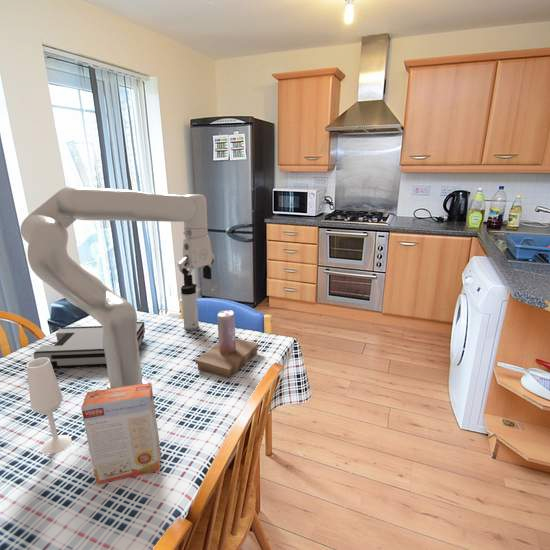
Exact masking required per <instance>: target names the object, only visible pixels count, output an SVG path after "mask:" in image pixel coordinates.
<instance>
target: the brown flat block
mask: <svg viewBox="0 0 550 550" xmlns="http://www.w3.org/2000/svg"><path fill="white" fill-rule="evenodd" d="M235 341H236V350H235V352H234V353H233V354H231V355H223V354H221V353H220V351H219V342H217V343H216V344H215V345H213V346H212V347H210V348H209V349H208V350H207V351H204V352H203V354H201V355H199V356H198V357H197V358H196V359H194V360H195V365H197V370H198V371H202V372H205V373H209V374H211V375H214V376H218V377H222V378H225V379H228V380H230V379H231V378H232V377H234V375H236V373H238V371H240V370H241V369H242V368H243V367H244V366H246V364H247V363H248V362H250V361H251V359H252V358H254V357H255V356H256V355H257V354H258V348H260V347H259V345H260V344H259V343H258V342H254V341H249V340H246V339H241V338H238V337H235Z"/></svg>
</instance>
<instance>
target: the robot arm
mask: <svg viewBox="0 0 550 550" xmlns="http://www.w3.org/2000/svg"><path fill="white" fill-rule="evenodd" d="M207 210H208V207H207V198H206V196H205V195H204V194H197V193H193V194H192V193H191V194H190V193H188V194H184V195H182V194H181V195H180V194H171V193H168V194H156V193H149V192H148V193H147V192H143V191H139V190H131V189H118V188H115V189H113V188H99V187H88V186H87V187H84V186H83V187H82V186H75V185H69V186H65V187H63V188H61V189H60V190H58V191H57V192H56V193H55V194H53V195H52V196H51V197H49V198H48V199H47V200H46V201H44V203H42V204H41V205H39V207H37V208H36V209H35V210H34V211H31V213H30V214H28V215H27V216H26V217H25V218H24V219H23V221H22V223H21V224H20V234H21V237H22V238H23V240H24V241H25V242H27V259H28V260H27V261H28V264H29V267H30V269H31V270H32V272H33V273H34V274H35V275H36V277H38V278H39V279H40V280H42V281H43V282H44V283H46V285H48V286H49V287H51V288H52V289H53V290H55V291H56V292H57V293H58V294H60V295H61V296H62V297H63V298H64V299H65V300H67V301H68V302H70V304H71V305H73V306H75V307H77V308H78V309H80V310H82V311H83V312H85V313H86V314H88V315H89V316H90V317H92V318H93V319H94V320H95V321H97V322H98V323H99V324H100V326H102V328H103V347H104V353H105V358H106V365H107V366H106V368H107V369H106V370H107V376H108V382H109V384H108V385H106V389H112V388H118V387H125V386H131V385H138V384H145V383H149V382H148V381H147V380H146V379H143V371H142V365H141V356H140V350H139V348H140V347H139V348H138V341H137V322H138V314H137V311H136V309H135V307H134V305H132V303H131V302H130V301H128V300H127V299H125V298H124V297H121V296H119V295H118V294H117V293H115V292H113V290H111V289H110V288H109V287H107V285H105V284H103V281H102V280H100V279H99V278H98V277H97V276H95V275H93V274H92V273H90V272H88V271H87V270H86V269H84V268H83V267H82V266H81V265H79V264H78V263H77V262H76V261H75V260H74V259H72V258H71V257H70V256H69V254H68V250H67V248H68V241H69V233H68V230H67V229H68V228H69V227H71V225H72V224H73V223H74V222H75V221H76V220H79V221H123V222H124V221H125V222H126V221H128V222H129V221H131V222H165V223H166V222H168V223H169V222H173V223H174V222H175V223H176V222H181V223H182V222H183V235H184V237H183V242H182V259H181V260H179V262H177V266H178V269H179V271H180V273H181V274H182V275H183V284H184V285H185V286H190V287H191V286H193V284H194V283H193V274H192V272H193V270H195V269H199V268H202V277H203V279H206V280H211V279H212V267H213V264H214V259H215V253H213V251H212V243H211V239H210V236H209V235H208V232H209V231H208V211H207ZM184 285H183V286H184Z"/></svg>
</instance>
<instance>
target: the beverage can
mask: <svg viewBox="0 0 550 550" xmlns="http://www.w3.org/2000/svg"><path fill="white" fill-rule="evenodd" d="M216 318H217V336H218V337H217V338H218V343H219V351H220V353H221V354H223V355H231V354H233V353H234V352H235V350H236V341H235V338H236V323H235V321H236V319H235V318H236V317H235V312H234V311H233V310H229V309H228V310H227V309H226V310H221V311H218V312H217V317H216Z"/></svg>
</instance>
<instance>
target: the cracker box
mask: <svg viewBox="0 0 550 550" xmlns="http://www.w3.org/2000/svg"><path fill="white" fill-rule="evenodd" d="M153 393H154V392H153V385H152V382H148V383H145V384H138V385H131V386H125V387H118V388H112V389H107V388H104V389H98V390H93V391H92V390H91V391H87V392H86V394H85V397H84V400H83V402H82V405H81V407H80V408H81V413H82V419H83V422H84V424H83V425H84V429H85V434H86V439H87V444H88V449H89V454H90V455H89V456H90V460H91V465H92V469H93V474H94V479H95V483H96V484H102V483H106V482H113V481H116V480H121V479H126V478H131V477H136V476H139V475H140V476H141V475H145V474H150V473H153V472H154V473H155V472H159V471H161V469H160V468H161V455H162V452H161V445H160V436H159V430H158V422H157V416H156V407H155V401H154V400H155V399H154V394H153Z"/></svg>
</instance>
